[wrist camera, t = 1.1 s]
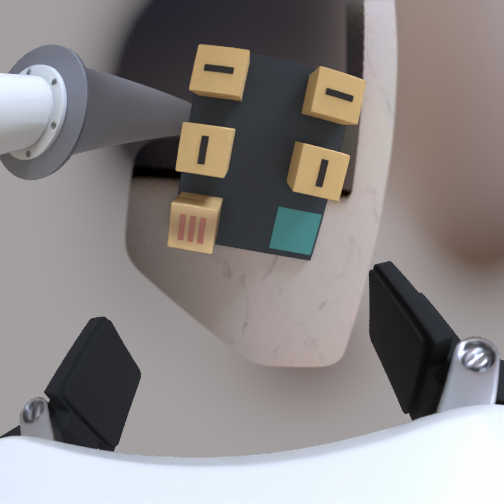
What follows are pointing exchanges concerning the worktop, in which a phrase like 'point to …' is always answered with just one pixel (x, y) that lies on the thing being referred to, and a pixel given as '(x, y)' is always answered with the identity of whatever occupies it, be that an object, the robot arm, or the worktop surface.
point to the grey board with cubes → (267, 146)
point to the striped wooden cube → (194, 222)
